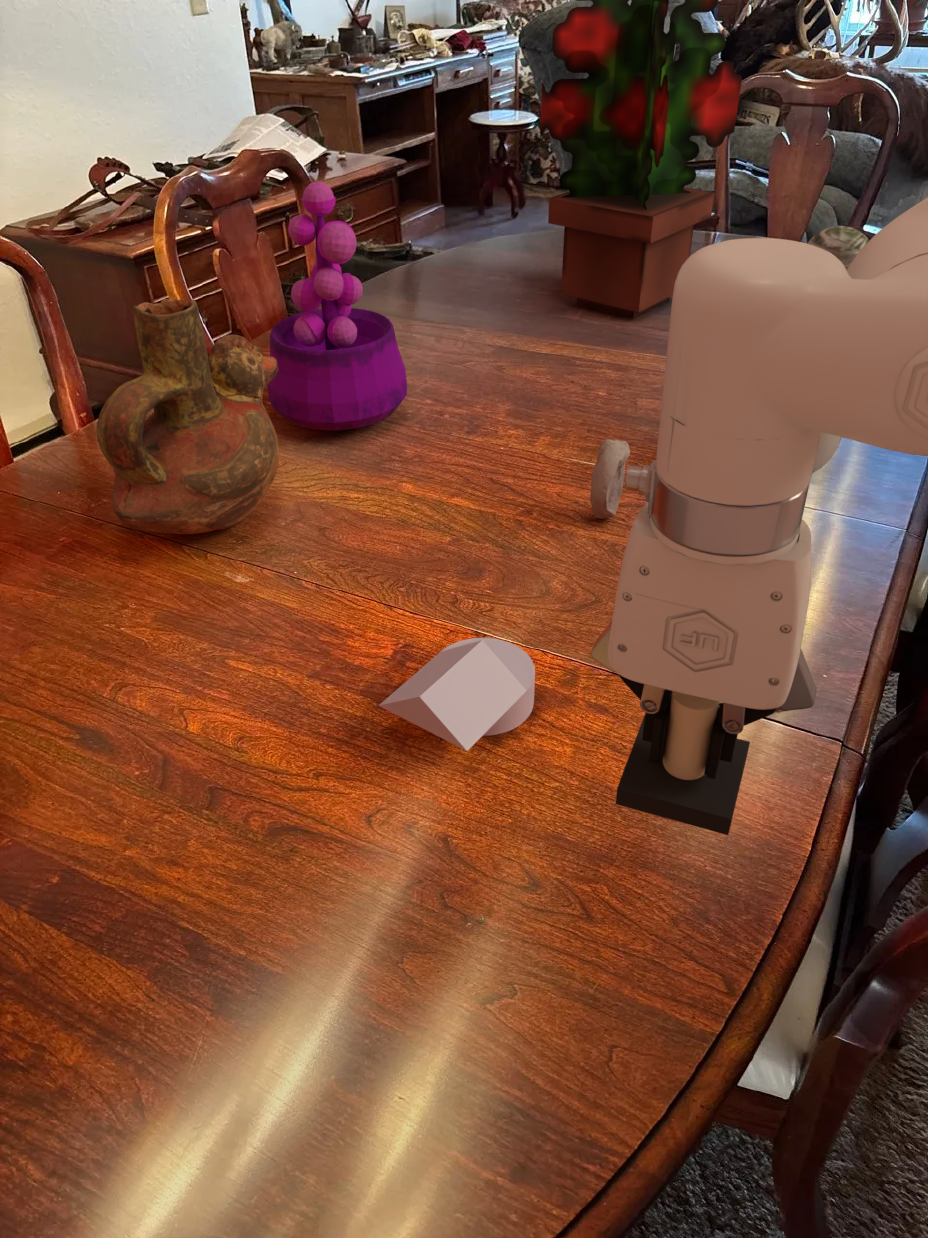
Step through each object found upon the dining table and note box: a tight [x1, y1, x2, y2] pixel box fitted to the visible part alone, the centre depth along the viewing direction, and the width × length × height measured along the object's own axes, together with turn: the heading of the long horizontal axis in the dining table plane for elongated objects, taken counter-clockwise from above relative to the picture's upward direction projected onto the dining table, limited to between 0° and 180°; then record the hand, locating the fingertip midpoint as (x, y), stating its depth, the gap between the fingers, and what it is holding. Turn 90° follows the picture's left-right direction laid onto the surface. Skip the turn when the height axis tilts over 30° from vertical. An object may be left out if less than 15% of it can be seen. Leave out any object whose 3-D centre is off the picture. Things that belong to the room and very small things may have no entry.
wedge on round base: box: [378, 637, 536, 752], centre depth 78 cm, size 9×7×13 cm
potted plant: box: [539, 0, 743, 319], centre depth 149 cm, size 22×22×45 cm
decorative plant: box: [266, 181, 408, 431], centre depth 118 cm, size 19×18×30 cm
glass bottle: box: [806, 225, 870, 474], centre depth 105 cm, size 10×10×28 cm
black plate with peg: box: [615, 691, 751, 836], centre depth 57 cm, size 7×7×8 cm
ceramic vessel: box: [96, 298, 280, 535], centre depth 99 cm, size 17×26×25 cm, turn 152°
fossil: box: [589, 438, 631, 520], centre depth 102 cm, size 6×4×10 cm, turn 149°
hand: (686, 753), depth 58 cm, fingers closed on black plate with peg, 2 cm apart
